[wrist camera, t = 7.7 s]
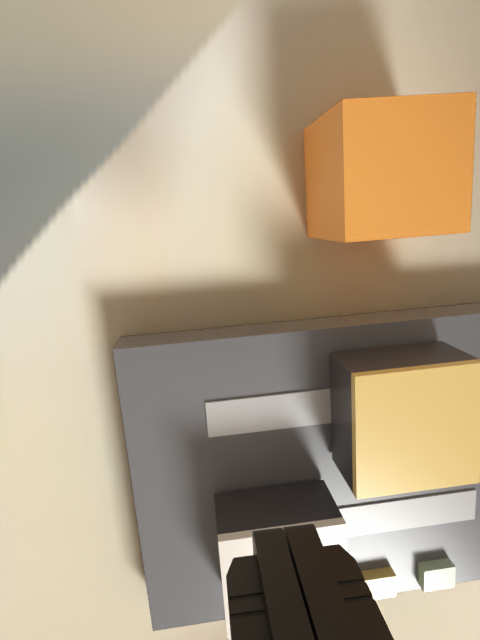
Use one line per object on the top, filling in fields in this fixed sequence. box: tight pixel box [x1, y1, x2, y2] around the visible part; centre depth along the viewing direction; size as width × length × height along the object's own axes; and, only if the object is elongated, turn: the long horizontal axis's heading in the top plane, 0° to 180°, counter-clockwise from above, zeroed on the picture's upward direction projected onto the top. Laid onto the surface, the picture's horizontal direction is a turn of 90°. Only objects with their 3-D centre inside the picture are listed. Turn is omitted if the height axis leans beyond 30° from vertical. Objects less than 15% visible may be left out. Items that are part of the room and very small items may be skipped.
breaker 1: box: [214, 480, 347, 640], centre depth 19 cm, size 5×5×3 cm
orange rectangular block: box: [304, 92, 476, 243], centre depth 17 cm, size 4×4×5 cm
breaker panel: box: [113, 303, 480, 631], centre depth 21 cm, size 18×14×3 cm
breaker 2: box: [329, 341, 480, 500], centre depth 18 cm, size 5×5×3 cm
